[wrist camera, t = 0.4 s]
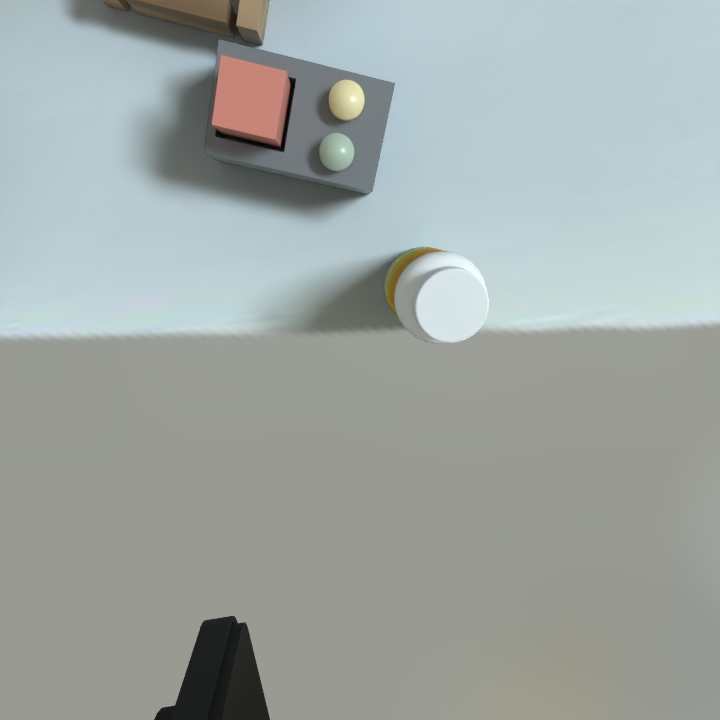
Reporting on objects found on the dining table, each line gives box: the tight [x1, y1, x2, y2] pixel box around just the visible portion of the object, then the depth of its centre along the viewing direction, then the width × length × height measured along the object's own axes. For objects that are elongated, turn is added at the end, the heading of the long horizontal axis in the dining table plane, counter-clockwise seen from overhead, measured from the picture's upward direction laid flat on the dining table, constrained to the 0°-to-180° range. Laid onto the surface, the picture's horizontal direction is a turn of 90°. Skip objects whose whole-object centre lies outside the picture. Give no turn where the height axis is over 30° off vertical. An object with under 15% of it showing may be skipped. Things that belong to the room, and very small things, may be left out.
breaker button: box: [212, 55, 291, 148], centre depth 29 cm, size 3×3×3 cm
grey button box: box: [204, 39, 395, 195], centre depth 32 cm, size 6×10×5 cm, turn 78°
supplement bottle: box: [384, 247, 489, 344], centre depth 32 cm, size 5×5×10 cm
